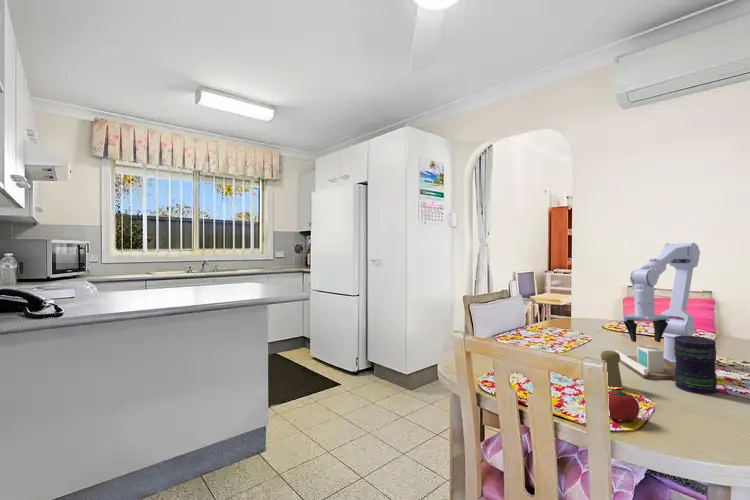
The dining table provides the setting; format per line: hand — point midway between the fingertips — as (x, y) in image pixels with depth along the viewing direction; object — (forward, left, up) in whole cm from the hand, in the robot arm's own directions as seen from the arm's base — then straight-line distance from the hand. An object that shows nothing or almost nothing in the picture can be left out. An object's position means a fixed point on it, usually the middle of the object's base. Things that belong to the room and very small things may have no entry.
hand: (645, 341), depth 134 cm
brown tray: (-2, 0, -10) cm, 10 cm away
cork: (+19, +19, -10) cm, 28 cm away
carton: (0, +4, -9) cm, 9 cm away
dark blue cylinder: (-5, +18, -10) cm, 21 cm away
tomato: (+26, +42, -10) cm, 50 cm away
